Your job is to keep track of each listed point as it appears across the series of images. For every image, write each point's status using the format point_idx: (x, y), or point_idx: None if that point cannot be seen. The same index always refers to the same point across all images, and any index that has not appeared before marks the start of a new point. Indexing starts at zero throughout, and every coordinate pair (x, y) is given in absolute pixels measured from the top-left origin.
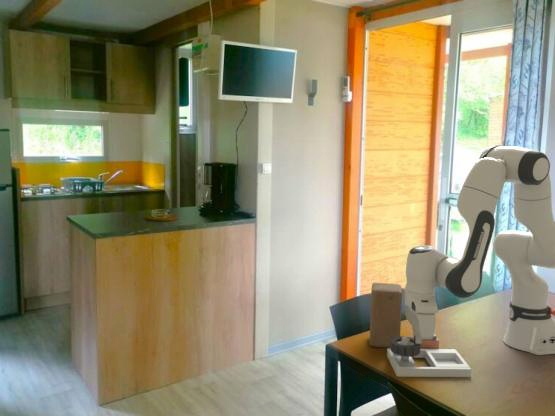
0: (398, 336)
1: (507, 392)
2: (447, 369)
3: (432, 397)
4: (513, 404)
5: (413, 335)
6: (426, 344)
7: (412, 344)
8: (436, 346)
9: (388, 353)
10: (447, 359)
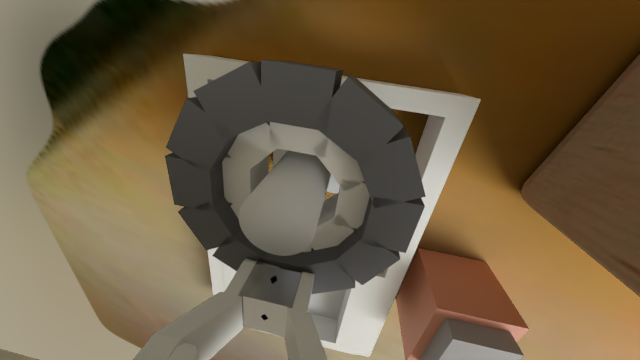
0: (576, 233)
1: (161, 315)
2: (210, 264)
3: (72, 134)
4: (109, 297)
5: (306, 303)
6: (420, 307)
7: None
8: (403, 326)
9: (431, 90)
10: (339, 303)
